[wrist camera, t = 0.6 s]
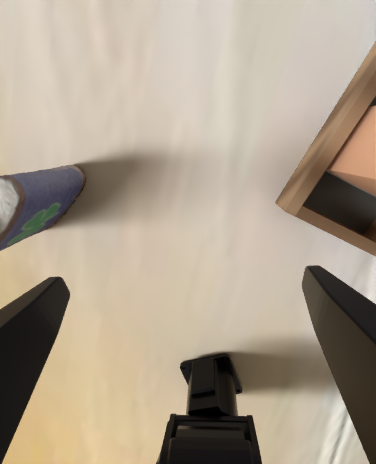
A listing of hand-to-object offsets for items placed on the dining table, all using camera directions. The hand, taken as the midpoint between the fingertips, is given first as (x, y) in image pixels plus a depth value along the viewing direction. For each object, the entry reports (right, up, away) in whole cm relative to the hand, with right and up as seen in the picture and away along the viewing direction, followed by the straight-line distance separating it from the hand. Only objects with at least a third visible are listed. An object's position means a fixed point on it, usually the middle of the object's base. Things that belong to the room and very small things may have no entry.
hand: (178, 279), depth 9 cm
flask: (-13, +5, +16) cm, 21 cm away
